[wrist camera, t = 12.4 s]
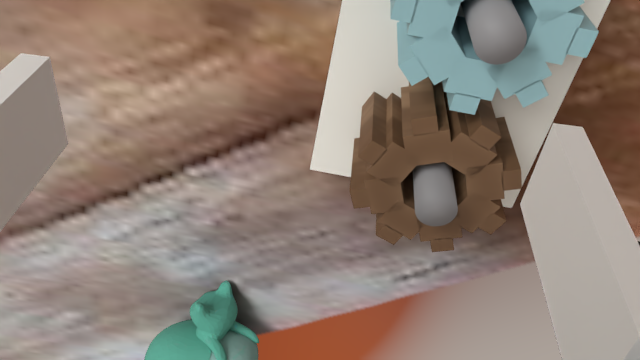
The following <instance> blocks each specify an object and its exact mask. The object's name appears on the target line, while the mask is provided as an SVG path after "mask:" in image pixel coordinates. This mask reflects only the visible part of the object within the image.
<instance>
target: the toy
mask: <svg viewBox="0 0 640 360" xmlns="http://www.w3.org/2000/svg"><path fill="white" fill-rule="evenodd" d="M237 311H238V310H237V304H236V301H235V299H234V297H233V294H232V289H231V284H230V283H229V282H228V281H225V282H223V283H221V285H220V287H219V288H218V290H216V291H211V292H207V293H205V294H204V295H203V296H202V297H201V298H200V299H198V300H197V301H195V302H194V303H193V305H192V306H191V308H190V316H191V320H186V321H182V322H179V323H176V324H174V325H171V326H169V327H168V328H166V329H164V330H163V331H162V332H160V333H159V334H158V335H157V336H156V337H155V338H154V340H153V341H152V342H151V344H150V346H149V348H148V350H147V352H146V356H145V359H144V360H258V348H257V344H256V343H259V339H258V337H257V336H256V334H255V333H254V332H253V331H252V330H250V329H249V328H247V327H246V326H244V325H242V324H240V323H238V322H236V321H235V319H236V317H237Z"/></svg>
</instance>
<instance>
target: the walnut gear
mask: <svg viewBox="0 0 640 360" xmlns="http://www.w3.org/2000/svg"><path fill="white" fill-rule="evenodd" d="M440 162H445V163H447V164H448V165H450V166H451V167H452V173H453V180H454V187H455V193H456V200H457V206H458V212H457V215H456V217H455V218H454V219H453V220H452V221H451V222H450V223H448V224H446V225H443V226H429V225H426V224H423V223H422V222H421V221H419V220H418V218H417V217H416V214H415V204H414V186H413V169H414V168H415V167H416V166H418V165H425V164H433V163H440ZM515 189H522V180H521V167H520V164H519V161H518V158H517V155H516V152H515V149H514V145H513V142H512V139H511V136H510V133H509V130H508V127H507V124H506V120H505V117H499V118H496V117H495V113H494V110H493V107H492V103H491V101H489V100H484V99H481V100H480V102H479V105H478V108H477V110H476V113H475V115H472V114H467V113H462V112H457V111H452V110H449V104H448V98H447V93H446V92H443V86H442V81H441V82H439V83H437V84H436V85H434V84H433V83H432V81H431V80H430V78H429V77H427V78H425V79H423V80H422V81H420V82H418V83H416V84H414V85H413V86H412V85H411V84H410V82H409V86H407V87H401V98H400V97H399V96H397V95H395V94H394V93H391V94H390V96H389V97H388V98H387V99H386V98H384V97H382V96H381V95H379V94H378V93H376V92H373V93H372V95H371V96H370V97H369V98H368V100H367V101H366V102H365V104H364V105H363V106H362V112H361V125H360V138H354V148H353V159H352V170H351V181H350V194H351V198H352V203H353V207H354V209H355V208H363V207H370V209H371V214H376V235H377V236H378V237H380V238H382V239H384V240H386V241H388V242H389V243H391V244H393V245H394V244H395V243H396V242H397V241H398V240H399V239H400V238H401V237H402V236H405V237H407V238H408V239H410V240H411V239H412V238H413V237H414V236H415V235H416V234H417V233H418V232H419V235H420V240H421V242H422V241H430V243H431V249H432V252H438V251H448V250H454V246H453V238H461V237H462V231H461V227H462V228H464V229H465V230H467V231H469V232H470V233H473V232H474V231H475V230H476V229H477V228H480V229H482V230H483V231H485V232H487V233H489V234H490V235H491V234H492V233H493V232H494V231H496V230H497V229H498V228H499V227H500V226H501V225H502V224H504V223H505V222H506V217H505V213H504V209H503V205H502V201H501V199H505V197H504V191H507V190H515Z"/></svg>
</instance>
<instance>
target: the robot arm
mask: <svg viewBox="0 0 640 360" xmlns="http://www.w3.org/2000/svg"><path fill="white" fill-rule="evenodd" d="M67 145H68V140H67V135H66V131H65V126H64V121H63V117H62V112H61V107H60V103H59V98H58V93H57V89H56V84H55V79H54V75H53V70H52V65H51V61H50V57H46V56H38V55H30V54H23V53H21V54H19V55H18V56H17V57H16V58H15V59H14V60H13V61H12V62H10V63H9V64H8V65H7V66H6V67H5V68H4V69H2V70H1V71H0V231H1V230H2V229H3V227H4V226H5V225H6V224H7V222H8V221H9V220H10V218H11V217H12V216H13V215H14V213H15V212H16V211H17V209H18V208H19V207H20V205H21V204H22V203H23V202H24V200H25V199H26V198H27V196H28V195H29V194H30V193H31V191H32V190H33V189H34V187H35V186H36V185H37V183H38V182H39V181H40V180H41V178H42V177H43V176H44V174H45V173H46V172H47V171H48V169H49V168H50V167H51V165H52V164H53V163H54V161H55V160H56V159H57V158H58V156H59V155H60V154H61V152H62V151H63V150H64V149H65V147H66V146H67ZM520 206H521V210H522V213H523V217H524V221H525V225H526V228H527V232H528V236H529V239H530V243H531V247H532V251H533V254H534V258H535V262H536V265H537V269H538V273H539V277H540V280H541V284H542V288H543V291H544V295H545V299H546V303H547V306H548V310H549V314H550V317H551V321H552V325H553V329H554V332H555V336H556V340H557V344H558V347H559V351H560V355H561V358H562V360H640V242H639V241H637V239H636V237H635V235H634V233H633V231H632V229H631V227H630V225H629V223H628V221H627V219H626V216H625V214H624V212H623V210H622V208H621V206H620V204H619V202H618V200H617V198H616V195H615V193H614V191H613V189H612V187H611V185H610V183H609V181H608V179H607V177H606V175H605V172H604V170H603V168H602V166H601V164H600V162H599V160H598V158H597V156H596V154H595V152H594V149H593V147H592V145H591V143H590V141H589V139H588V137H587V135H586V133H585V131H584V128H583V127H579V126H571V125H563V124H556V123H553V124H552V127H551V129H550V132H549V134H548V137H547V139H546V141H545V144H544V146H543V149H542V151H541V154H540V156H539V159H538V161H537V164H536V166H535V169H534V171H533V173H532V176H531V178H530V181H529V183H528V186H527V188H526V191H525V193H524V196H523V198H522V200H521V203H520Z"/></svg>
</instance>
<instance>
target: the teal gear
mask: <svg viewBox="0 0 640 360" xmlns="http://www.w3.org/2000/svg"><path fill="white" fill-rule="evenodd" d="M462 1H464V0H390V16H391V19H392V20H397V21H399V22H397V44H398V66H399V68H400V69H401V71H402V72H403V74H404V75H405V77H406V78H407V80H408V81H409V82H410V84H411V85H412V86H413V85H414V84H416V83H418V82H420V81H422V80H423V79H425V78H427V77H429V78H430V80H431V81H432V83H433V84H434V85H436V84H437V83H439V82H441V81H442V82H443V89H444V92H446V93H447V98H448V104H449V110H452V111H457V112H462V113H467V114H472V115H475V113H476V110H477V108H478V105H479V102H480V100H481V99H484V100H489V101H492V99H493V97H494V94H495V92H496V89H497V87H498V89H499V91H500V92H501V94H502V96H503V97H504V99H506V98H508V97H510V96H512V95H514V94H516V96H517V98H518V99H519V101H520V103H521V105H522V106H523V108H524V107H526V106H528V105H530V104H532V103H534V102H536V101H538V100H540V99H542V98H544V97H546V96H548V95H549V94H548V92H547V90H546V88H545V86H544V84H543V82H542V80H543V79H545V78H547V77H549V76H551V75H552V73H551V71H550V69H549V67H548V65H547V64H546V62H549V63H554V64H559V65H562V64H563V62H564V59H565V57H566V55H567V54H569V55H574V56H579V57H584V58H587V56H588V54H589V51H590V49H591V47H592V45H593V43H594V41H595V39H596V37H597V35H598V33H599V31H598V30H597V29H596V27H595V26H594V25H593V23H592V22H591V21H590V19H589V18H588V17H587V15H586V14H585V13H584V11H583V10H582V9H581V7H580V6H579V5H581V4H583V3H585V2H584V0H511V1H512V3H513V5H514V7H515V9H516V11H517V13H518V15H519V17H520V19H521V21H522V23H523V25H524V27H525V29H526V32H527V41H526V44H525V47H524V49H523V50H522V52H521V53H520V54H519V55H518V56H517V57H516V58H515V59H513V60H512V61H510V62H507V63H504V64H498V65H494V64H489V63H486V62H484V61H482V60H481V59H480V58H479V57H478V56H477V55H476V53H475V51H474V47H473V44H472V40H471V37H470V33H469V30H468V26H467V23H466V20H465V17H462V16H457V13H458V9H459V6H460V3H461V2H462Z"/></svg>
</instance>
